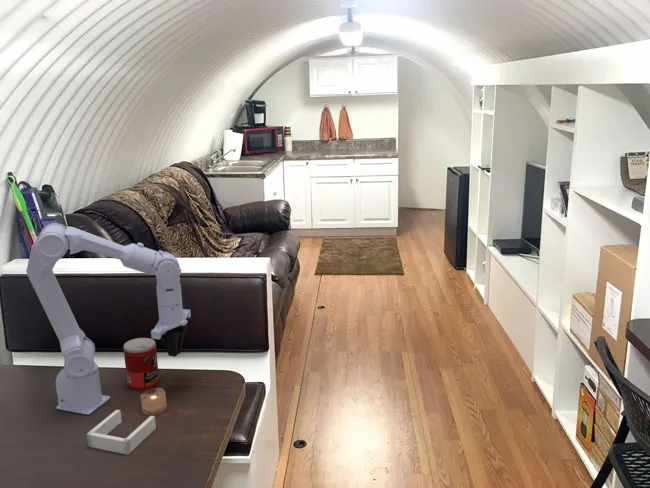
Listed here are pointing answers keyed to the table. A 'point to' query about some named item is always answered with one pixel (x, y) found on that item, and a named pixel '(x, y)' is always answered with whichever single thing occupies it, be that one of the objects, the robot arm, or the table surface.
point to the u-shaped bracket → (117, 444)
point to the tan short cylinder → (153, 401)
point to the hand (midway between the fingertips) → (174, 354)
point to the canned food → (141, 363)
